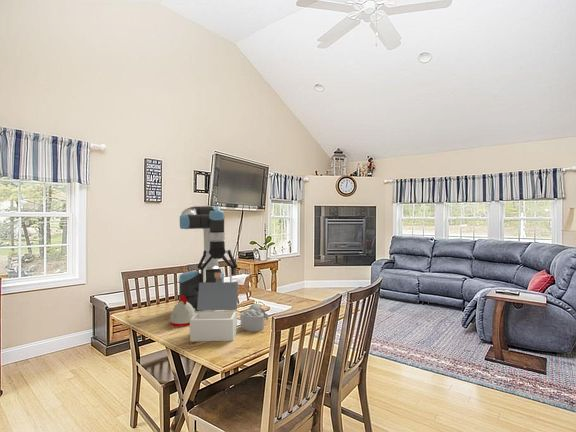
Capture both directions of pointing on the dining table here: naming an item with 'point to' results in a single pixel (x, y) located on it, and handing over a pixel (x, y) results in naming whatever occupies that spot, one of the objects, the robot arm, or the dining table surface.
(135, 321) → the dining table surface
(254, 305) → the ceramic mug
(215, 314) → the carton
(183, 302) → the kitchen timer
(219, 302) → the carton lid
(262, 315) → the lumpy-topped squat cylinder
